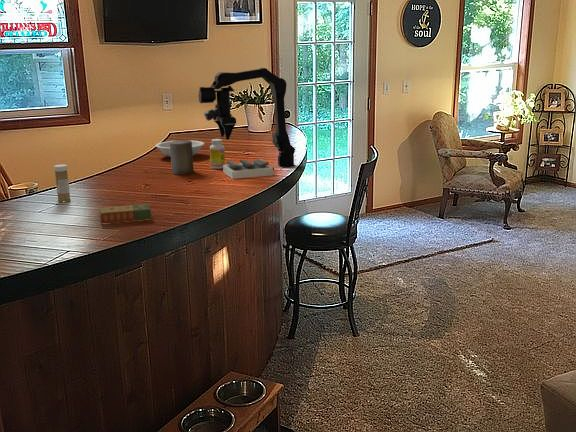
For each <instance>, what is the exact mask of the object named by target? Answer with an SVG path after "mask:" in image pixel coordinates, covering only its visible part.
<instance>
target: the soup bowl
mask: <svg viewBox="0 0 576 432" xmlns="http://www.w3.org/2000/svg"><path fill="white" fill-rule="evenodd" d="M189 140H190V139H189ZM172 141H173V140H169V141H163V142H159V143H156V144H155V147H156V148H158V149H159V151H160V152H161V153H162V154H163V155H165V156H166V157H169V158H171V153H170V142H172ZM190 141H192V153H193V156H194V155H196V154H197V153H198V152H199V151H200V150H201V149H202V147H203V146H204V145H205V141H204V142H203V141H200V140H190Z"/></svg>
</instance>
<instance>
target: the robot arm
mask: <svg viewBox="0 0 576 432" xmlns="http://www.w3.org/2000/svg"><path fill="white" fill-rule="evenodd" d="M260 78H262V79H263V81H265V82H266V83H267V84H269V87H270V92H271V94H272V97H273V102H274V103H273V104H274V116H275V118H274V119H275V131H274V132H275V133H272V134H271V136H272V141H271V142H272V144H273V146H274V147H275V148H276V149H277V151H278V155H277V165H278V166H279V167H281V168H288V167H289V168H290V167H296V165H295V152H296V148H295V147H293V145H292V144H291V141H290V136H289V133H288V131H287V128H286V127H287V125H286V124H287V122H286V111H285V110H286V108H285V97H286V93H287V81H286V80H285V78H283V77H278V76H277V75H276V74H274V73H272V72H271V71H270V70H269V69H267V68H266V67H260V68H257V69H255V68H254V69H250V70H245V71H244V70H243V71H237V72H229V71H228V72H223V71H221V72H217V73H216V74H215V76H214V81H213V82H212V84H211V85H210V86H205V87H204V86H199V88H198V89H199V91H198V102H199V103H200V104H212V103H214V102H216V104H215V107H214V108H212V109H209V110H208V111H205V112H203V115H204V118H205V120H206V121H211V120H213V122H215V124H216V125H217V126H218V130H219V134H220V137H222V138H223V137H225V140H226V141H229V140H230V138H231V135H232V133H233V130H234V128H235V126H236V124H237V118H236V117H235V116H233V115H232V114H231V108H232V104H231V94H230V92H235V89H233V87H232V86H231V85H234V84H235V83H238V82H244V81H248V80H253V79H260Z"/></svg>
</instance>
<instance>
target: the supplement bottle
mask: <svg viewBox="0 0 576 432" xmlns="http://www.w3.org/2000/svg"><path fill="white" fill-rule="evenodd" d="M225 151H226V149H225V146H224V145H223V139H222V138H221V139H220V138H214V139H211V145H210V146H209V157H210V158H209V161H210V168H211V169H214V170H218V169H223V165H226V154H225Z"/></svg>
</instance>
